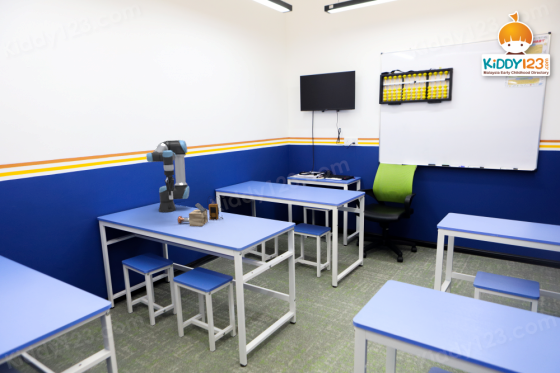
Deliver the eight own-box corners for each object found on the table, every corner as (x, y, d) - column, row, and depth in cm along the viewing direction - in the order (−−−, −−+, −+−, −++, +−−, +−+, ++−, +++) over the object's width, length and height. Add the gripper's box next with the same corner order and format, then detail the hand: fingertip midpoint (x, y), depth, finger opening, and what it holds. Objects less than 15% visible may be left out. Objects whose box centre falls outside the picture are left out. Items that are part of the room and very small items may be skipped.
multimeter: (225, 216, 303) (224, 193, 299) (222, 219, 293) (220, 196, 289) (208, 216, 304) (207, 194, 301) (205, 219, 294) (203, 196, 291)
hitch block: (196, 221, 291) (195, 207, 289) (208, 221, 289) (207, 207, 287) (189, 226, 277) (188, 211, 275) (202, 226, 276) (201, 212, 273)
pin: (177, 224, 283) (177, 217, 282) (180, 222, 288) (180, 215, 287) (195, 224, 281) (194, 217, 280) (197, 222, 286) (197, 215, 285)
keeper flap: (197, 203, 283) (198, 202, 283) (204, 210, 284) (205, 209, 283) (194, 205, 278) (195, 204, 277) (202, 212, 278) (202, 211, 278)
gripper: (168, 169, 285) (170, 197, 289) (160, 171, 273) (163, 200, 277) (176, 169, 284) (179, 197, 288) (169, 171, 272) (172, 201, 276)
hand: (171, 199), depth 283 cm, fingers closed
